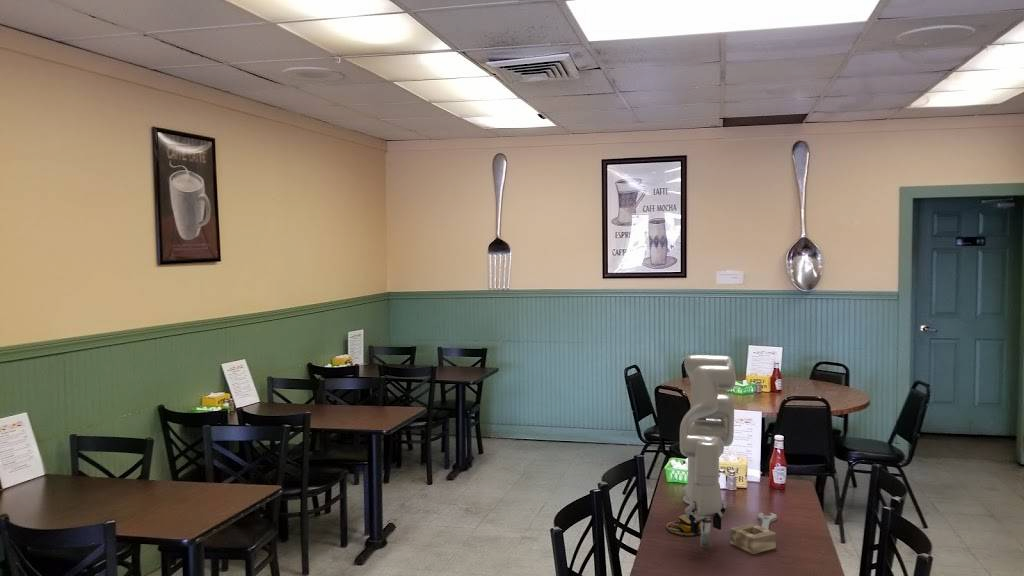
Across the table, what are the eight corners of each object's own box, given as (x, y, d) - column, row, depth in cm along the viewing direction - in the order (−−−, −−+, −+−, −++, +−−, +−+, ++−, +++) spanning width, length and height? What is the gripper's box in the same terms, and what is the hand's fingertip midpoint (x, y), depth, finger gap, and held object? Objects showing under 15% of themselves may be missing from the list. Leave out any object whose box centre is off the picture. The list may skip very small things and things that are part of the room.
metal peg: (697, 545, 249) (698, 517, 248) (705, 543, 250) (706, 515, 250) (705, 549, 246) (705, 520, 245) (713, 547, 247) (713, 518, 247)
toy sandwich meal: (660, 525, 267) (660, 512, 267) (696, 522, 270) (696, 509, 270) (675, 538, 255) (675, 524, 255) (712, 535, 258) (712, 521, 258)
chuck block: (730, 543, 251) (730, 528, 250) (752, 537, 255) (752, 523, 255) (753, 554, 242) (753, 538, 242) (775, 548, 247) (775, 533, 246)
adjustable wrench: (767, 542, 253) (767, 537, 253) (747, 539, 256) (747, 534, 256) (777, 518, 275) (777, 513, 275) (759, 515, 278) (759, 510, 278)
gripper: (718, 472, 254) (717, 523, 255) (678, 479, 246) (677, 531, 246) (734, 478, 248) (733, 530, 248) (694, 485, 239) (693, 539, 240)
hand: (705, 531), depth 247 cm, fingers open, 9 cm apart
